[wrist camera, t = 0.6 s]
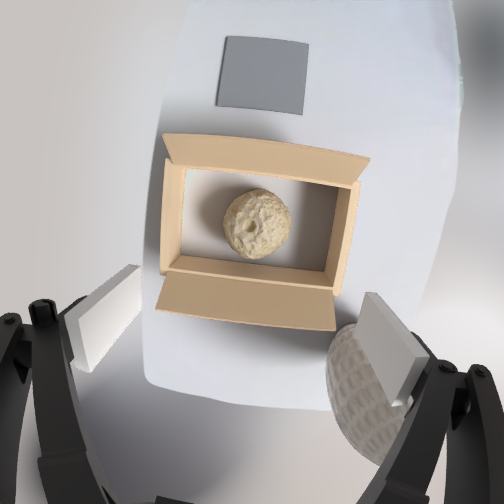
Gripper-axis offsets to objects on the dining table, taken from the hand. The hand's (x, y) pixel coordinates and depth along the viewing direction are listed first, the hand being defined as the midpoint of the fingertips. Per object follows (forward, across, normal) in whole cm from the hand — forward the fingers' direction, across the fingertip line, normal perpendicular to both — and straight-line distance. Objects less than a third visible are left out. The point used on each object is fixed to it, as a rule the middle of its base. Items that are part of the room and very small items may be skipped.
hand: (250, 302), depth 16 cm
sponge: (+26, 0, 0) cm, 26 cm away
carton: (+26, 0, 0) cm, 26 cm away
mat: (+26, -2, +22) cm, 34 cm away
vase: (+26, +18, -18) cm, 37 cm away
